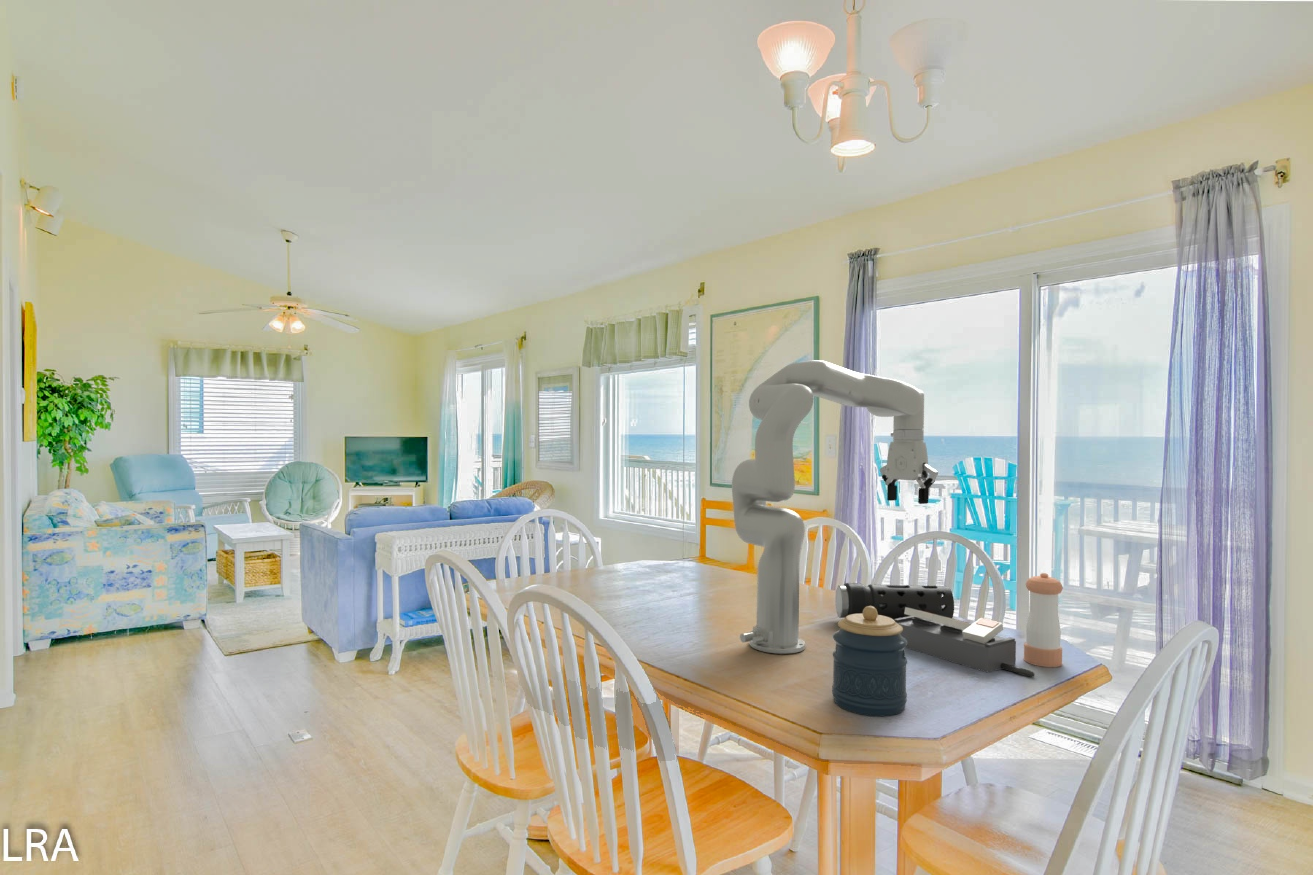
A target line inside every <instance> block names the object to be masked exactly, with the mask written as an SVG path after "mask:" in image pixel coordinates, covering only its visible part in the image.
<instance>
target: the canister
mask: <svg viewBox="0 0 1313 875" xmlns="http://www.w3.org/2000/svg"><path fill="white" fill-rule="evenodd" d="M837 626H838V628H839V630H837V631H835V632H834V633H833V635H832V638H833V640H834V641H835V649H834V651H833V652H832V657H833V668H832V669H833V671H832V672H833V676H832V677H833V678H832V679H833V680H832V681H833V683H832V686H831V689H832V690H831V693H832V696H833V698H832V700H833V703H835V704H836V705H837V707H839V708H841V709H844V710H845V711H848V712H851V713H855V714H859V715H864V716H873V717H874V716H875V717H887V716H889V717H890V716H895V715H898V714H901V713H902V712H904V711H905V709H906V704H907V701H908V700H907V699H908V694H907V664H908V659H907V657H906V656H905V648H906V646H907V645H908V642H907V640H906V639H905V638H904V637H903V636H901V634H900V633H901V632H902V631H903V627H902V626H901V625H899V624H898V623H896V622H895V621H894V620H893V619H892V618H889V617H886V616H882V615H878V612H877V610H876V608H875V607H873V606H867V607H865V608H864V610H863V613H861V614H851V615H848V616H846V618H842V619H840V620H838V622H837Z"/></svg>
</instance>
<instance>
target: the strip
mask: <svg viewBox="0 0 1313 875" xmlns="http://www.w3.org/2000/svg"><path fill="white" fill-rule="evenodd" d="M894 621H895V622H896V623H898V624H899V625H901V626H902V627H903V631H902V632H901V633H900V634H901V636H903V637H904V638H905V639H906V640H907V642H908V645H907V646H906V647H905V648H906V649H909V650H913V651H916V652H920V653H923V654H925V655H929V656H933V657H936V658H939V659H942V660H945V661H950V662H952V663H955V664H959V665H962V666H965V667H969V668H972V669H975V670H978V671H982V672H984V673H985V672H986V673H991V672H994V671H998V670H1001V669H1002V670H1005V671H1008V672H1011V673H1016V674H1020V675H1023V676H1026V677H1030V678H1033V677H1034V676H1035V672H1034V671H1033V670H1029V669H1025V668H1023V667H1019V666H1015V665H1016V661H1017V660H1016V658H1017V657H1016V655H1017V644H1016V643H1017V641H1016V638H1013V637H1008V638H1006V637H1001V636H997V635H996V636H994V637H993V638H992V639H991V640H989V641H988V642H987V643H985V644H983V643H980V642H976V641H972V640H969V639H965V638H963V634H962V631H963V629H959V628H955V627H951V626H948V625H944V624H940V623H936V622H932V621H928V620H924V619H921V618H917V617H914V616H908V617H903V618H898V619H894Z"/></svg>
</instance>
